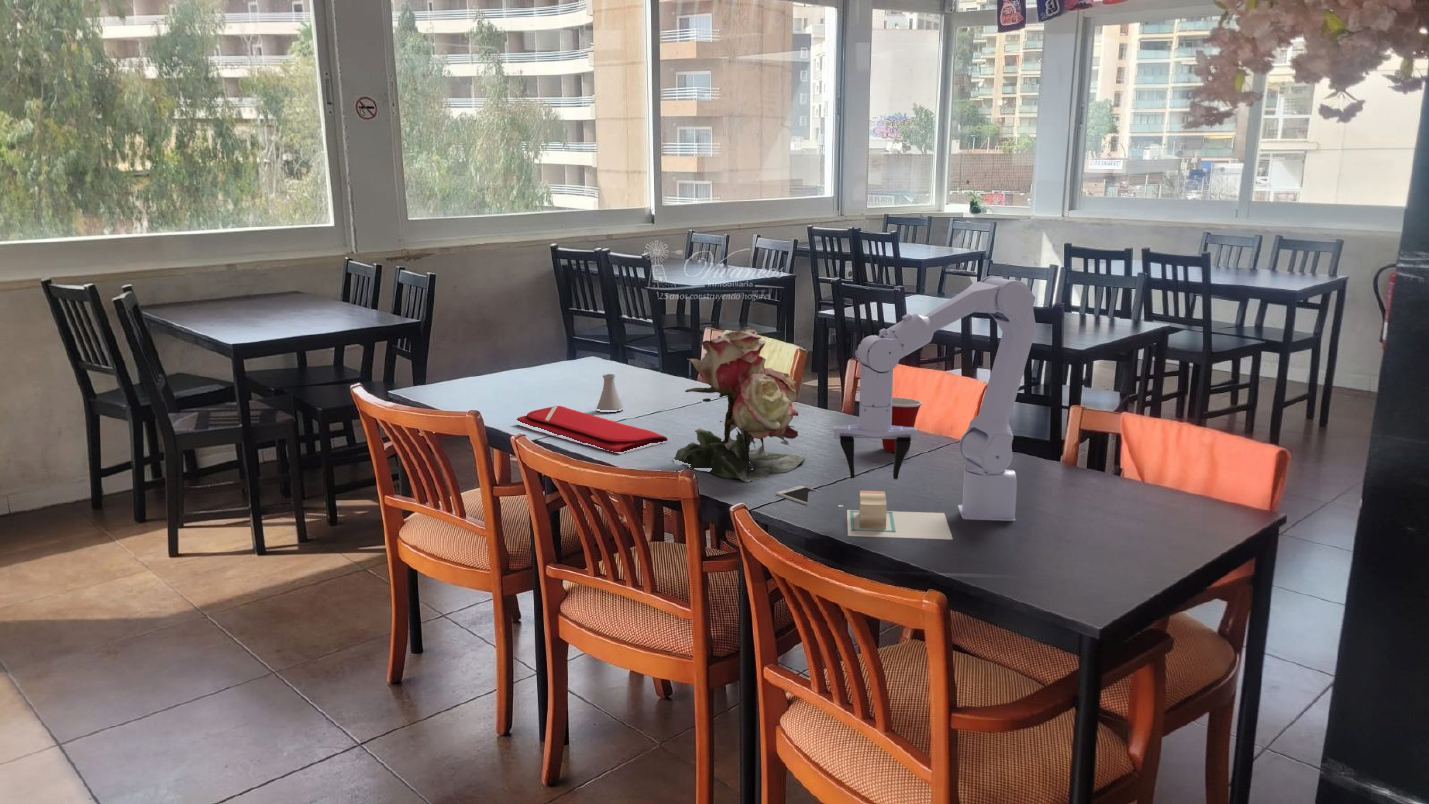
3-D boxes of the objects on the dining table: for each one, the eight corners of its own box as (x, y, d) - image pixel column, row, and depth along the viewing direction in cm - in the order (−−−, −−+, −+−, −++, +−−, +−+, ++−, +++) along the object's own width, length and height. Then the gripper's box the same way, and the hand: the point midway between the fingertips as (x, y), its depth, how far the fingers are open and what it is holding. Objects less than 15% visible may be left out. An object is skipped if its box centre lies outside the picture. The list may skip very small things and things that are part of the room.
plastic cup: (929, 449, 232) (931, 398, 230) (903, 458, 225) (905, 406, 222) (889, 441, 240) (891, 392, 237) (863, 450, 232) (865, 399, 229)
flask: (628, 410, 274) (627, 374, 272) (612, 415, 268) (611, 378, 266) (607, 406, 278) (606, 371, 275) (591, 412, 272) (589, 375, 269)
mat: (944, 515, 187) (944, 512, 187) (952, 542, 173) (952, 538, 173) (846, 512, 189) (846, 509, 189) (847, 538, 175) (847, 535, 175)
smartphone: (831, 515, 188) (831, 511, 188) (775, 496, 200) (775, 491, 200) (857, 507, 193) (857, 503, 193) (801, 489, 205) (801, 485, 204)
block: (885, 529, 178) (886, 505, 177) (859, 528, 179) (860, 504, 178) (884, 514, 186) (884, 491, 185) (859, 513, 187) (859, 490, 186)
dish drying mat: (618, 457, 229) (617, 441, 228) (514, 427, 257) (513, 413, 256) (668, 444, 240) (668, 429, 239) (563, 417, 268) (563, 403, 267)
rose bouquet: (761, 489, 204) (762, 343, 197) (660, 462, 223) (658, 329, 216) (835, 462, 222) (838, 328, 216) (735, 440, 241) (735, 316, 235)
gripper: (915, 399, 181) (912, 471, 184) (834, 398, 182) (833, 469, 185) (918, 408, 174) (915, 483, 177) (834, 406, 176) (833, 481, 179)
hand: (873, 477), depth 181 cm, fingers open, 7 cm apart
